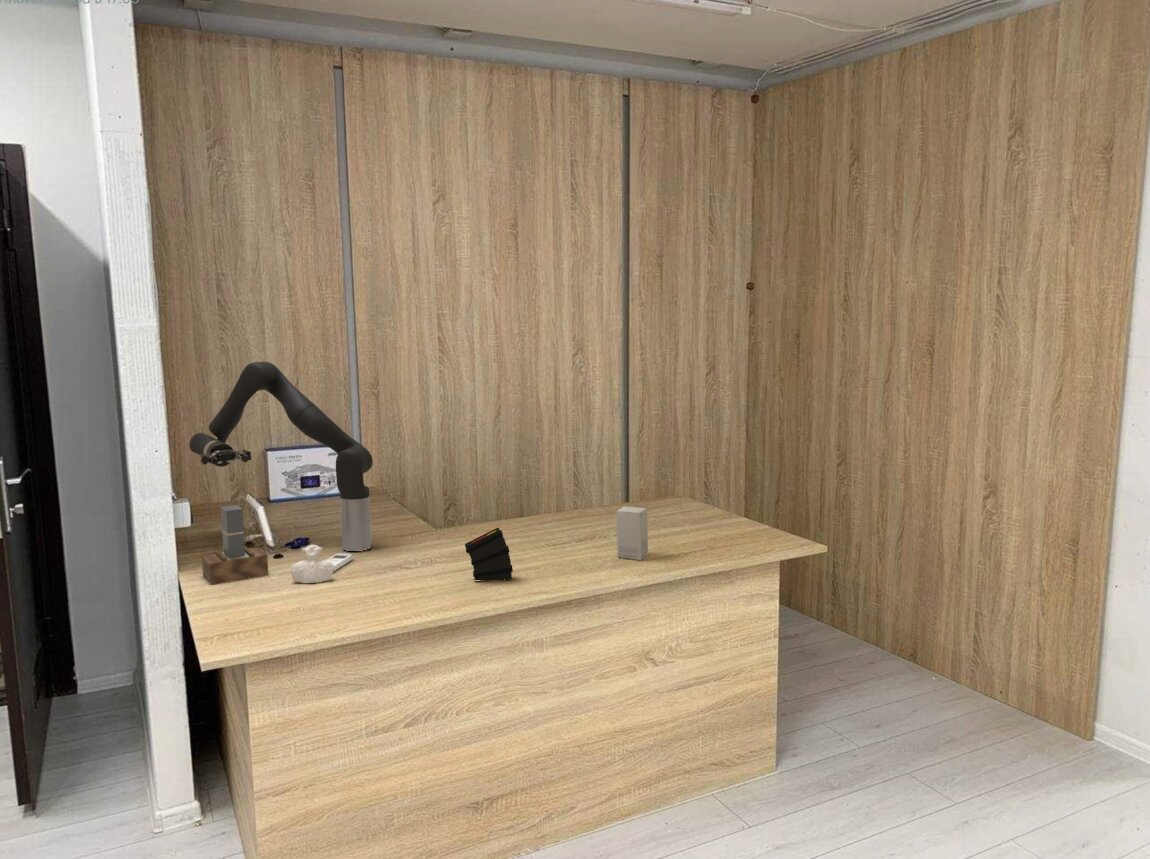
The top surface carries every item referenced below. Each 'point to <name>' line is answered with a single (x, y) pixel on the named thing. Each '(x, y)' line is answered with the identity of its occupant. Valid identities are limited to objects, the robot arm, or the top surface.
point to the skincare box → (632, 533)
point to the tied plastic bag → (312, 567)
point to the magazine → (490, 556)
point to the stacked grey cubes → (233, 531)
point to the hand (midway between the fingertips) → (231, 460)
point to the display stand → (234, 566)
